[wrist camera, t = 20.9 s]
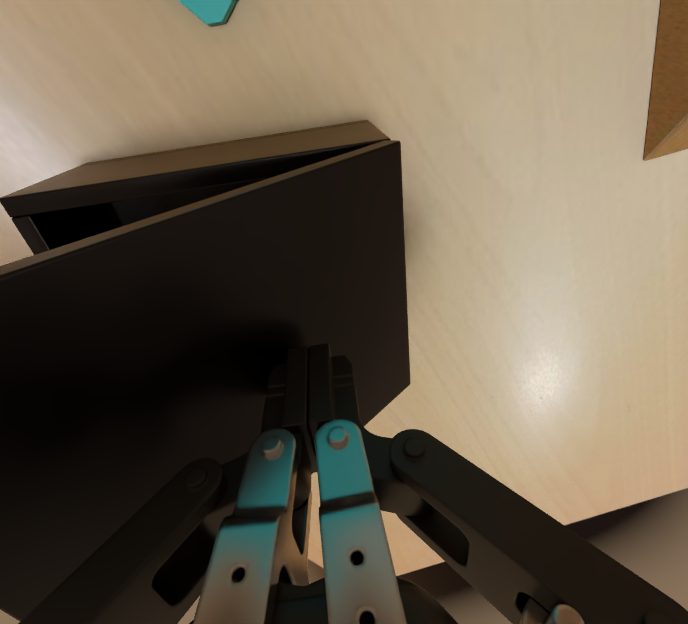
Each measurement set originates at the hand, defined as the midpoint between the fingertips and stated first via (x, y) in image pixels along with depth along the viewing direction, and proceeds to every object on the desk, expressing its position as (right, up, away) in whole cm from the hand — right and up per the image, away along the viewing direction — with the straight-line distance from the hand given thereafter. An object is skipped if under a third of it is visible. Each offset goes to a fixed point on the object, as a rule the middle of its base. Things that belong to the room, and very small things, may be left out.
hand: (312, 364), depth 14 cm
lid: (-2, 0, 0) cm, 2 cm away
